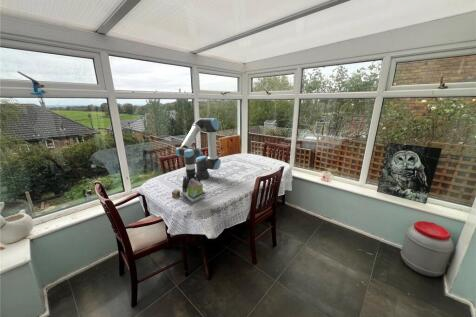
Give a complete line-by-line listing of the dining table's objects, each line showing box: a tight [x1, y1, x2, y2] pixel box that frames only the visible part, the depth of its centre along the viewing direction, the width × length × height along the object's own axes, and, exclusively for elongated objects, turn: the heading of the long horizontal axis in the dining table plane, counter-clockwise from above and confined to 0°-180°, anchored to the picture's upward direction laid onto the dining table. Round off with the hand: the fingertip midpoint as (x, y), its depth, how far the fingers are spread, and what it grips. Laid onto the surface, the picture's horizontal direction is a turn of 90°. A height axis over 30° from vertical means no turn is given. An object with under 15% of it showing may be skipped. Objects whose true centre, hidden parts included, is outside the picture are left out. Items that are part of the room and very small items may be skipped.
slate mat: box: [180, 195, 206, 206], centre depth 161 cm, size 16×14×1 cm
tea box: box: [181, 178, 204, 202], centre depth 158 cm, size 15×10×15 cm
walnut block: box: [171, 189, 181, 199], centre depth 164 cm, size 5×5×5 cm
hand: (192, 192), depth 159 cm, fingers closed on tea box, 10 cm apart
